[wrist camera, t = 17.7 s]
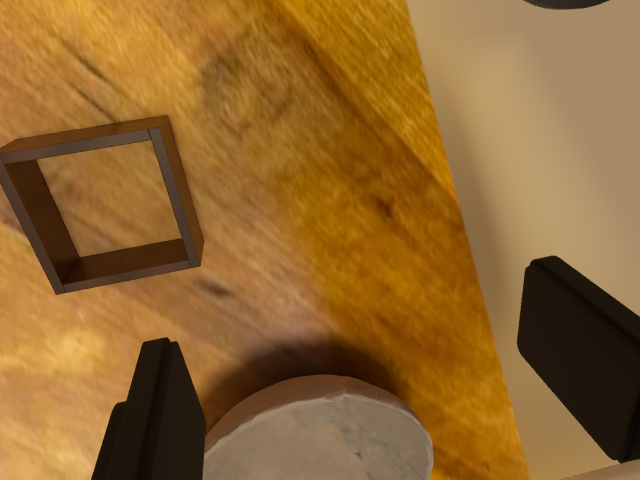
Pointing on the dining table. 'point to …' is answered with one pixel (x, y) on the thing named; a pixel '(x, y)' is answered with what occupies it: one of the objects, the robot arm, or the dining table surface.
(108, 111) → the dining table surface
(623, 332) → the robot arm
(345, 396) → the bowl
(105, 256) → the crate
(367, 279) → the dining table surface
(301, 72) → the dining table surface
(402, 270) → the dining table surface
